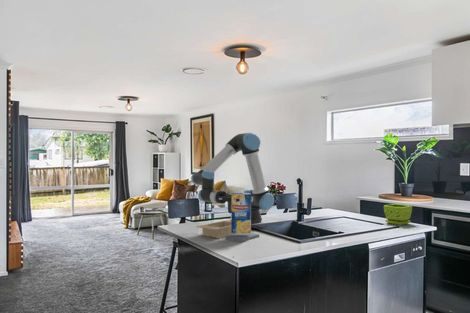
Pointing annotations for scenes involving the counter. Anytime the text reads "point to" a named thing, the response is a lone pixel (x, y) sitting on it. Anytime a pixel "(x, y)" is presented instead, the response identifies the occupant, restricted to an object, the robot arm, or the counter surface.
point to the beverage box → (241, 213)
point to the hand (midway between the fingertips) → (248, 200)
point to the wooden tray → (217, 229)
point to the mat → (242, 236)
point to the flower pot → (398, 213)
